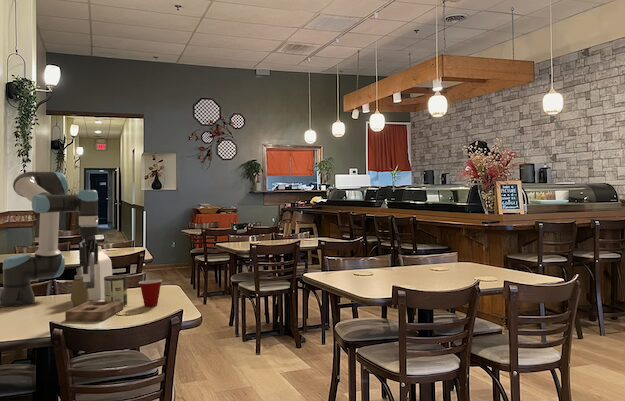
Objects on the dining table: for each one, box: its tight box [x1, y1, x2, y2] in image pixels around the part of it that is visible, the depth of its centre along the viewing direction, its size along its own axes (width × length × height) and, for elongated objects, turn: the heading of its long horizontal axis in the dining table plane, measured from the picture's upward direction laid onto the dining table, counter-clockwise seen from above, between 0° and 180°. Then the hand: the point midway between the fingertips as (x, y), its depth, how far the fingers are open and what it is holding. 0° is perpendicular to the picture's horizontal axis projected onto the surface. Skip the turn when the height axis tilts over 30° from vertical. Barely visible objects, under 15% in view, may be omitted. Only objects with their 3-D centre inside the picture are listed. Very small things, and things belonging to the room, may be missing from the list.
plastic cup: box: [138, 279, 163, 308], centre depth 242 cm, size 11×11×12 cm
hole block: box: [64, 300, 124, 322], centre depth 223 cm, size 16×20×4 cm
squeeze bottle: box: [70, 267, 89, 307], centre depth 243 cm, size 8×8×18 cm
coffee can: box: [104, 274, 128, 308], centre depth 241 cm, size 10×10×14 cm
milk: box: [80, 245, 113, 301], centre depth 262 cm, size 12×12×26 cm
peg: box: [84, 252, 95, 289], centre depth 218 cm, size 4×4×15 cm
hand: (89, 280), depth 218 cm, fingers closed on peg, 4 cm apart
